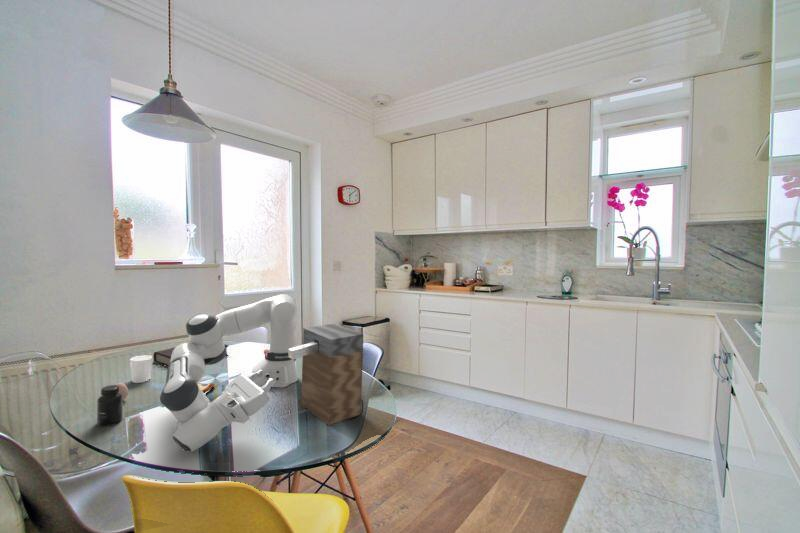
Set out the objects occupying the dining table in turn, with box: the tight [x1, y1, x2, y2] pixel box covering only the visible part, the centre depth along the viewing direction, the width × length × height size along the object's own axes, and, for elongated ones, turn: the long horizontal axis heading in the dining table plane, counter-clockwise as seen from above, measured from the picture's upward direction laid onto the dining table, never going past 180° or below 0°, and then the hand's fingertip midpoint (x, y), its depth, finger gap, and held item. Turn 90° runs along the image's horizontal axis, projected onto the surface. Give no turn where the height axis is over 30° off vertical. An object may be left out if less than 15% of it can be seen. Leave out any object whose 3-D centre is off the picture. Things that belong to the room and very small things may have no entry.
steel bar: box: [288, 341, 319, 360], centre depth 132 cm, size 18×3×3 cm, turn 132°
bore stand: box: [301, 323, 364, 426], centre depth 138 cm, size 14×20×31 cm
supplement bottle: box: [96, 384, 124, 427], centre depth 123 cm, size 7×7×12 cm
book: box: [152, 343, 229, 367], centre depth 190 cm, size 28×20×6 cm
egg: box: [114, 382, 129, 401], centre depth 138 cm, size 5×5×7 cm
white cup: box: [129, 354, 153, 384], centre depth 159 cm, size 8×8×10 cm
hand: (267, 375), depth 121 cm, fingers open, 8 cm apart
